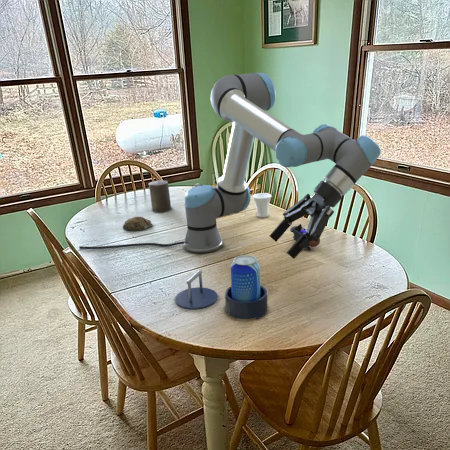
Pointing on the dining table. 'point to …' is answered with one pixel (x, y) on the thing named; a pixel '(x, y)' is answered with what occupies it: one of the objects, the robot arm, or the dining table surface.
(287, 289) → the dining table surface
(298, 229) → the character figurine
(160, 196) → the pillar candle
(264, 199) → the cup
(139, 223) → the bread roll
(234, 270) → the beer can
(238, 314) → the pot
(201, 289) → the lid
